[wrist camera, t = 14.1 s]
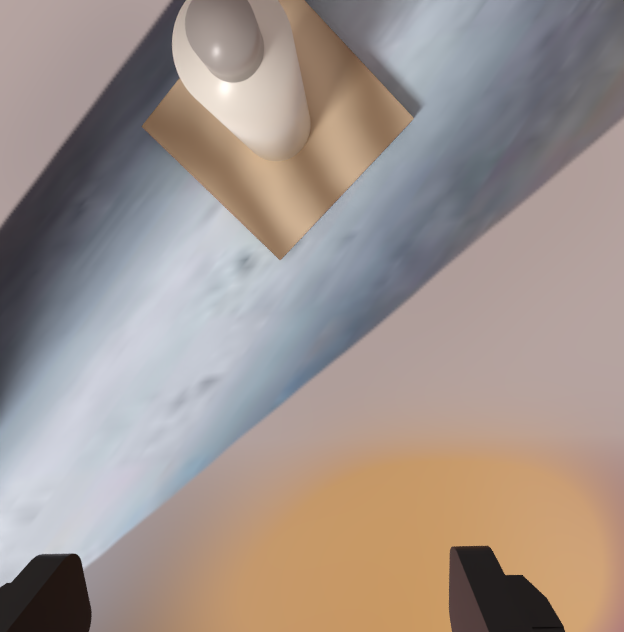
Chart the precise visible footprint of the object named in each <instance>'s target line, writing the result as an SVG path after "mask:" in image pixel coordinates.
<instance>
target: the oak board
mask: <svg viewBox="0 0 624 632" xmlns="http://www.w3.org/2000/svg"><path fill="white" fill-rule="evenodd" d="M278 1H279V3H280V4H281V6H282V7H283V9H284V11H285V13H286V15H287V17H288V20H289V22H290V25H291V29H292V33H293V38H294V43H295V48H296V53H297V57H298V62H299V67H300V72H301V77H302V81H303V86H304V91H305V96H306V100H307V105H308V110H309V115H310V121H311V127H310V133H309V137H308V140H307V142H306V144H305V145H304V147H303V148H302V149H301V151H300V152H299V153H297V154H296V155H295V156H293V157H292V158H290V159H287V160H284V161H269V160H265V159H263V158H261V157H259V156H257V155H256V154H255V153H254V152H253V151H252V150H250V149H249V148H248V147H247V146H246V145H245V144H244V143H243V142H242V141H241V140H240V139H239V138H237V137H236V136H235V135H234V134H233V133H232V132H231V131H230V130H229V129H228V128H227V127H226V126H224V125H223V124H222V123H221V122H220V121H219V120H218V119H217V118H216V117H215V116H214V115H213V114H212V113H210V112H209V111H208V110H207V109H206V108H205V107H204V106H203V105H202V104H201V103H200V102H199V101H197V100H196V99H195V98H194V97H193V96H192V95H191V94H190V92H189V91H188V90H187V89H186V87H185V86H184V84H183V82H182V81H181V79H180V78H179V80H178V81H177V82H176V83H175V85H174V86H173V87H172V88H171V90H170V91H169V92H168V94H167V95H166V96H165V97H164V99H163V100H162V101H161V102H160V104H159V105H158V106H157V108H156V109H155V110H154V111H153V113H152V114H151V115H150V116H149V118H148V119H147V120H146V122H145V123H144V124H143V125H142V127H143V128H144V129H145V130H146V131H147V132H148V133H149V134H150V135H151V136H152V137H153V138H154V139H155V140H156V141H157V142H158V143H159V144H160V145H161V146H162V147H163V148H164V149H165V150H166V151H167V152H168V153H169V154H171V155H172V156H173V157H174V158H175V159H176V160H177V161H178V162H179V163H180V164H181V165H182V166H183V167H184V168H185V169H186V170H187V171H188V172H189V173H190V174H191V175H192V176H193V177H194V178H195V179H196V180H197V181H198V182H200V183H201V184H202V185H203V186H204V187H205V188H206V189H207V190H208V191H209V192H210V193H211V194H212V195H213V196H214V197H215V198H216V199H217V200H218V201H219V202H220V203H221V204H222V205H223V206H224V207H225V208H226V209H227V210H229V211H230V212H231V213H232V214H233V215H234V216H235V217H236V218H237V219H238V220H239V221H240V222H241V223H242V224H243V225H244V226H245V227H246V228H247V229H248V230H249V231H250V232H251V233H252V234H253V235H254V236H255V237H256V238H258V239H259V240H260V241H261V242H262V243H263V244H264V245H265V246H266V247H267V248H268V249H269V250H270V251H271V252H272V253H273V254H274V255H275V256H276V257H277V258H278V259H279V260H281V259H282V258H283V257H284V256H285V255H286V254H287V253H288V252H289V251H290V250H291V249H292V247H293V246H294V245H295V244H296V243H297V242H298V241H299V240H300V239H301V238H302V237H303V236H304V235H305V234H306V233H307V232H308V231H309V229H310V228H311V227H312V226H313V225H314V224H315V223H316V222H317V221H318V220H319V219H320V218H321V217H322V216H323V215H324V214H325V213H326V211H327V210H328V209H329V208H330V207H331V206H332V205H333V204H334V203H335V202H336V201H337V200H338V199H339V198H340V197H341V196H342V194H343V193H344V192H345V191H346V190H347V189H348V188H349V187H350V186H351V185H352V184H353V183H354V182H355V181H356V180H357V179H358V178H359V176H360V175H361V174H362V173H363V172H364V171H365V170H366V169H367V168H368V167H369V166H370V165H371V164H372V163H373V162H374V161H375V159H376V158H377V157H378V156H379V155H380V154H381V153H382V152H383V151H384V150H385V149H386V148H387V147H388V146H389V145H390V144H391V143H392V141H393V140H394V139H395V138H396V137H397V136H398V135H399V134H400V133H401V132H402V131H403V130H404V129H405V128H406V127H407V126H408V125H409V123H410V122H411V121H412V120H413V119H414V118H413V117H412V116H411V115H410V114H409V112H408V111H407V110H406V109H405V108H404V107H403V106H402V105H401V104H400V103H399V102H398V101H397V100H396V98H395V97H394V96H393V95H392V94H391V93H390V92H389V91H388V90H387V89H386V88H385V87H384V85H383V84H382V83H381V82H380V81H379V80H378V79H377V78H376V77H375V76H374V75H373V74H372V73H371V71H370V70H369V69H368V68H367V67H366V66H365V65H364V64H363V63H362V62H361V61H360V60H359V59H358V57H357V56H356V55H355V54H354V53H353V52H352V51H351V50H350V49H349V48H348V47H347V46H346V45H345V43H344V42H343V41H342V40H341V39H340V38H339V37H338V36H337V35H336V34H335V33H334V32H333V31H332V29H331V28H330V27H329V26H328V25H327V24H326V23H325V22H324V21H323V20H322V19H321V18H320V17H319V15H318V14H317V13H316V12H315V11H314V10H313V9H312V8H311V7H310V6H309V5H308V4H307V2H306V1H305V0H278Z"/></svg>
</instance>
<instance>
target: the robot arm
mask: <svg viewBox="0 0 624 632" xmlns="http://www.w3.org/2000/svg"><path fill="white" fill-rule="evenodd" d="M449 613H450V621H451V628H452V632H565V630H564V626H563V625H562V623H561V621H560V620H559V618H558V616H557V615H556V613H555V611H554V610H553V608H552V606H551V605H550V603H549V601H548V599H547V598H546V597H545V596H544V595H543V594H542V593H541V592H539V590H538V589H537V588H535V587H534V586H533V585H532V584H531V583H530V582H529V581H528V580H527V579H526V578H525V577H524V576H523V575H505V574H504V572H503V570H502V569H501V566H500V564H499V562H498V560H497V558H496V557H495V555H494V553H493V551H492V549H491V548H490V547H489V546H462V547H461V546H459V547H451V549H450V574H449ZM90 624H91V606H90V601H89V597H88V592H87V587H86V582H85V578H84V573H83V568H82V563H81V559H80V557H79V556H78V555H77V554H41V555H38V556H36V557H35V558H33V559H32V560H31V561H30V562H29V563H28V565H27V566H26V567H25V568H24V569H23V570H22V571H21V572H20V574H19V575H18V576H17V577H16V578H15V579H14V580H13V581H12V582H11V583H6V584H5V585H3V586H2V587H1V588H0V632H89V629H90Z"/></svg>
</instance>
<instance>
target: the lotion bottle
mask: <svg viewBox="0 0 624 632" xmlns="http://www.w3.org/2000/svg"><path fill="white" fill-rule="evenodd" d="M172 51H173V58H174V63H175V66H176V70H177V72H178V75H179V77H180V79H181V81H182V82H183V84H184V86H185V87H186V89H187V90H188V91H189V92H190V94H191V95H192V96H193V97H194V98H195V99H196V100H197V101H199V102H200V103H201V104H202V105H203V106H204V107H205V108H206V109H207V110H208V111H209V112H210V113H212V114H213V115H214V116H215V117H216V118H217V119H218V120H219V121H220V122H221V123H222V124H223V125H224V126H226V127H227V128H228V129H229V130H230V131H231V132H232V133H233V134H234V135H235V136H236V137H237V138H239V139H240V140H241V141H242V142H243V143H244V144H245V145H246V146H247V147H248V148H249V149H250V150H252V151H253V152H254V153H255V154H256V155H257V156H259V157H261V158H263V159H265V160H269V161H284V160H287V159H290V158H292V157H293V156H295V155H296V154H297V153H299V152H300V151H301V149H302V148H303V147H304V145H305V144H306V142H307V140H308V137H309V133H310V127H311V121H310V115H309V110H308V105H307V100H306V96H305V91H304V86H303V81H302V77H301V72H300V67H299V62H298V57H297V53H296V48H295V43H294V38H293V33H292V29H291V25H290V22H289V20H288V17H287V15H286V13H285V11H284V9H283V7H282V6H281V4H280V3H279V1H278V0H186V1H185V2H184V4H183V6H182V7H181V9H180V11H179V13H178V16H177V18H176V21H175V25H174V29H173V36H172Z"/></svg>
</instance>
